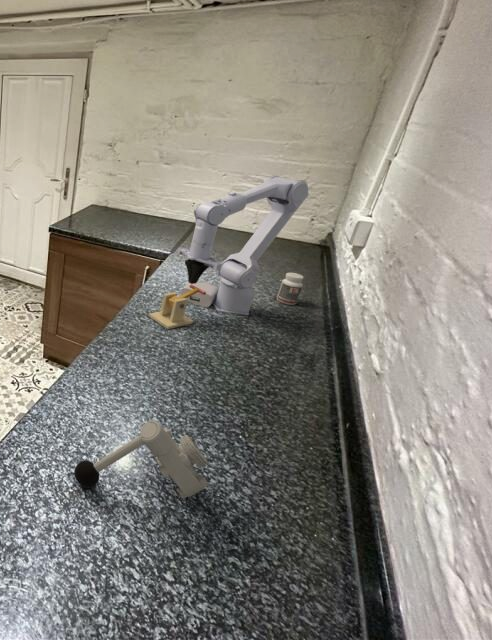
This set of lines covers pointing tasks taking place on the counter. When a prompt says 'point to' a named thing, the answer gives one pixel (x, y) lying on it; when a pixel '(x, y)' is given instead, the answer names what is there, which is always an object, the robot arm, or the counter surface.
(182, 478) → the valve
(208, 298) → the charger
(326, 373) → the counter surface
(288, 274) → the pill bottle
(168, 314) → the bracket
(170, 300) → the lever
